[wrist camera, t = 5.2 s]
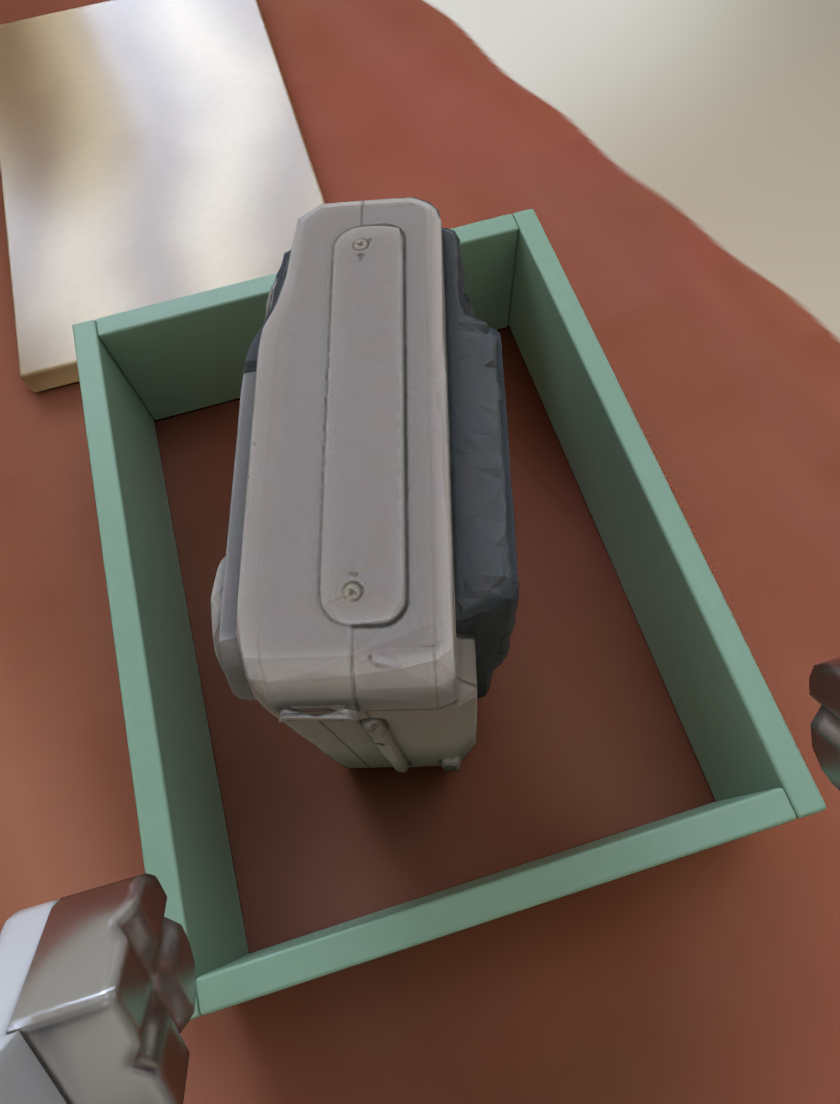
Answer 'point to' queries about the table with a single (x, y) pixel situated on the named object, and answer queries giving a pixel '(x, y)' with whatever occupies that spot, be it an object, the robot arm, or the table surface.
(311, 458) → the camera
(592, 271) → the table surface
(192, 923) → the bin
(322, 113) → the table surface
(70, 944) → the robot arm
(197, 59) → the board
